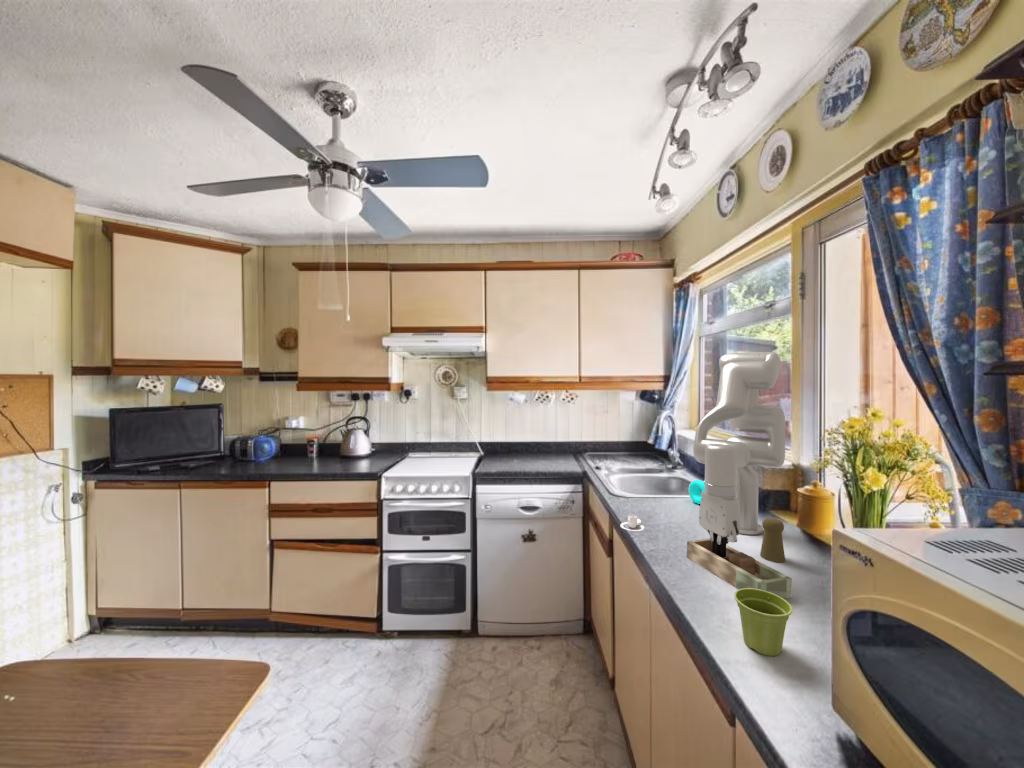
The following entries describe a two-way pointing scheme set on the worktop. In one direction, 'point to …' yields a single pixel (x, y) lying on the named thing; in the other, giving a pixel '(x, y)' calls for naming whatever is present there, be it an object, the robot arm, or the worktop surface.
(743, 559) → the block
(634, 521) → the teacup and saucer
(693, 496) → the donuts
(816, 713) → the worktop surface
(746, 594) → the plant pot
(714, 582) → the worktop surface
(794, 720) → the worktop surface
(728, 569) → the box
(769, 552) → the cork
